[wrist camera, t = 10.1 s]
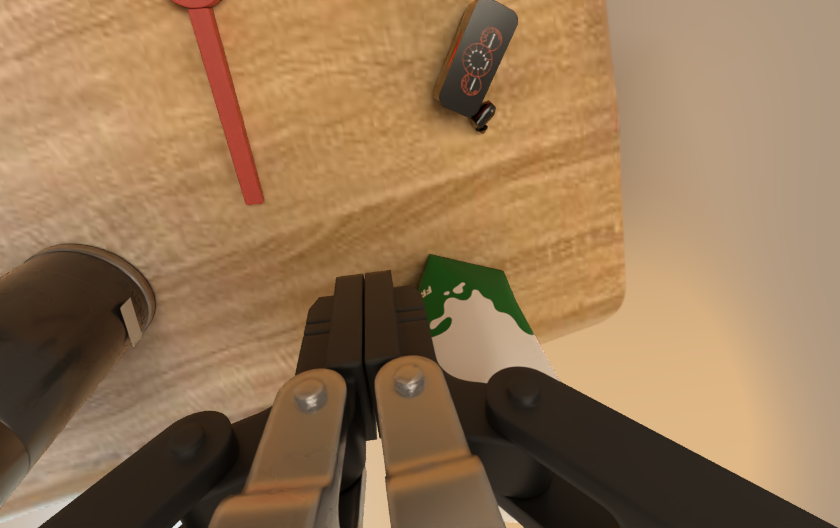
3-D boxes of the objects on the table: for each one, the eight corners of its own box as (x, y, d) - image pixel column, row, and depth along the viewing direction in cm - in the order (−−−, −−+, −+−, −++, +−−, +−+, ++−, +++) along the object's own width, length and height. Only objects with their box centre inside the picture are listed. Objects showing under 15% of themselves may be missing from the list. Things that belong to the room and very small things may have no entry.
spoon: (227, 203, 30) (223, 207, 29) (135, -82, 22) (126, -87, 21) (285, 198, 31) (283, 202, 30) (216, -87, 22) (210, -91, 21)
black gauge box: (425, 107, 28) (430, 115, 26) (468, -2, 25) (480, -8, 23) (481, 132, 30) (492, 142, 27) (529, 31, 27) (548, 29, 24)
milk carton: (481, 338, 40) (565, 571, 22) (393, 322, 37) (411, 565, 20) (516, 264, 36) (652, 475, 18) (421, 241, 34) (472, 455, 16)
